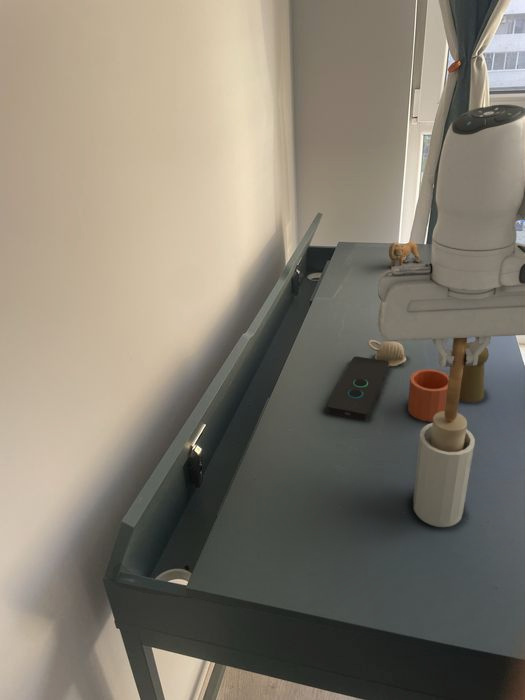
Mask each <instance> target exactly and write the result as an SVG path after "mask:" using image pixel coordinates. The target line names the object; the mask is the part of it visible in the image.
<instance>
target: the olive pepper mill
mask: <svg viewBox="0 0 525 700" xmlns="http://www.w3.org/2000/svg"><path fill="white" fill-rule="evenodd" d="M473 342H474V341H471V342H467V344H466V348H469V347H470V346H471V345H472V343H473ZM489 354H490V353H489V349H488V348H487V347H486V348H485V349H484V350H483V352H482V353H481V354H480V355H479V356H478V362H477V365H475V366H463V374H462V381H461V389H460V396H459V401H461V402H465V403H478V402H480V401H482V400H483V399H484V398H485V363H487V361H488V359H489Z"/></svg>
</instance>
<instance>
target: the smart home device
mask: <svg viewBox="0 0 525 700" xmlns="http://www.w3.org/2000/svg"><path fill="white" fill-rule="evenodd" d="M389 367H390V366H389V362H388V361H384V360H377V359H375V358H370V357H364V356H363V357H362V356H357V355H356V356H353V357H352V359H351V361H350V362H349V364H348V366H347V367H346V369H345V371H344V373H343V375H342V377H341V379H340V380H339V382H338V385H337V386H336V388H335V390H334V392H333V394H332V395H331V397H330V398H329V401H328V403H327V413H328V414H331V415H336V416H341V417H345V418H350V419H351V418H352V419H356V420H357V419H358V420H361V421H366V420H368V419H369V417H370V414H371V412H372V410H373V408H374V406H375V403H376V401H377V398H378V395H379V393H380V391H381V389H382V386H383V384H384V381H385V379H386V377H387V374H388V371H389Z"/></svg>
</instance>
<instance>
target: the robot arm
mask: <svg viewBox="0 0 525 700" xmlns="http://www.w3.org/2000/svg"><path fill="white" fill-rule="evenodd" d="M435 204H436V208H437V219H436V223H435V226H434V228H433V231H432V235H431V236H432V237H431V246H430V247H431V248H430V260H429V263H425V264H414V265H407V266H406V265H405V266H404V265H402V266H399V265H395V266H394V267H392V268H391V267H390V268H391V269H388V270H386V271H385V272H383V273H382V274H381V275H380V277H379V279H378V280H377V281H378V282H377V295H378V297H379V299H380V304H379V309H378V318H377V319H378V320H377V325H378V330H379V333H380V335H381V336H382V337H383V339H385V341H386V342H387V341H391V342H401V341H423V340H426V341H427V340H432V342H433V344H434V346H435V348H436V349H437V351H438V358H437V359H438V364H439V366H440V368H450V367H451V366H453V364H454V363H453V361H454V354H453V353H452V348H445V347H444V346H446V345H448V340H449V339H453V338H467V339H468V338H475V339H474V340H473V341H472V342H473V343H472V345H471V346H470V347H469V348H466V351H465V359H464V366H475V365H477V362H478V356H479V355H480V354H481V353H482V352H483V350H484V349H485V348H487V347H488V346H489V345H490V344H491V338H492V337H493V338H494V337H513V336H525V244H523V243H519V242H517V227H516V223H517V222H518V221H519V222H520V221H522V220H523V221H525V107H523V106H520V105H516V104H493V105H488V106H482V107H476V108H473V109H471V110H467V111H466V112H464V113H462V114H460V115H459V116H457V117H456V118H454V120H453V121H452V122H451V123H450V125H449V127H448V129H447V132H446V134H445V138H444V141H443V144H442V147H441V153H440V157H439V163H438V171H437V179H436V189H435Z"/></svg>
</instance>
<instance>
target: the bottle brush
mask: <svg viewBox="0 0 525 700" xmlns="http://www.w3.org/2000/svg"><path fill="white" fill-rule="evenodd" d="M452 339H453V340H452V347H451V350H452V353H453V354H454V361H453V363H454V364H453V366H451V367H449V374H448V376H449V380H448V389H447V397H446V406H445V411H441V412H438V413H436V414H435V415H434V417H433V422H432V423H433V425H432V434H431V444H430V445H431V446H432V447H434V448H436V449H438V450H442V451H446V452H458V451H461V450H463V447H464V441H465V434H466V429H467V426H468V421H467V418H466V417H465V416H464V415H462V414H461V413H459V412H458V410H459V403H460V400H459V396H460V389H461V381H462V374H463V366H464V359H465V351H466V344H467V343H468V338H452Z"/></svg>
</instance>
